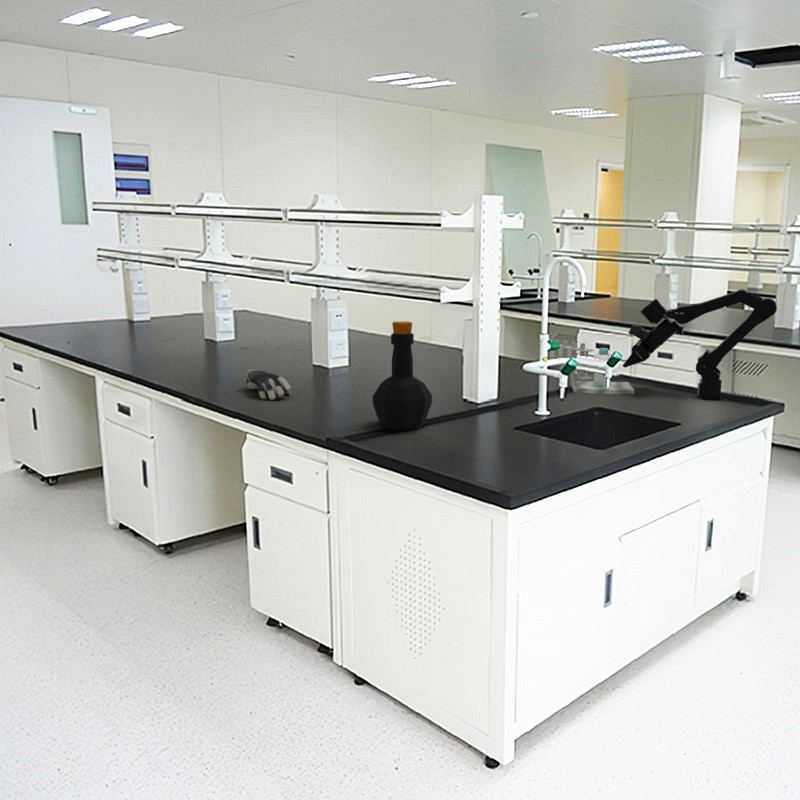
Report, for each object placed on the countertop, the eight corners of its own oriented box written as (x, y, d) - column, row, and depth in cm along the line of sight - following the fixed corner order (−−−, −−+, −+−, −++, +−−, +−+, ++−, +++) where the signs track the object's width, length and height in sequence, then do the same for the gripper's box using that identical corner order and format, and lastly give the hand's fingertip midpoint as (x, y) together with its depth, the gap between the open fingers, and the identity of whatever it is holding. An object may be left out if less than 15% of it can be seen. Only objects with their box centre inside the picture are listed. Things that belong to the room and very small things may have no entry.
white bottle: (613, 385, 287) (615, 348, 284) (606, 387, 282) (608, 350, 280) (597, 383, 291) (599, 346, 288) (590, 385, 286) (591, 348, 283)
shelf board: (628, 386, 293) (629, 368, 291) (634, 394, 279) (635, 375, 278) (571, 385, 295) (571, 367, 294) (574, 392, 281) (575, 374, 280)
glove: (239, 397, 287) (264, 401, 266) (239, 369, 287) (264, 370, 265) (273, 396, 294) (300, 400, 272) (272, 368, 293) (300, 370, 271)
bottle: (398, 416, 248) (397, 317, 241) (441, 424, 237) (442, 321, 231) (362, 426, 236) (361, 322, 229) (407, 435, 225) (407, 327, 219)
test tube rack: (592, 379, 307) (594, 344, 304) (584, 380, 305) (586, 345, 302) (544, 369, 327) (546, 336, 324) (536, 370, 325) (537, 337, 322)
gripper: (647, 313, 285) (613, 343, 291) (640, 319, 268) (604, 351, 275) (669, 337, 283) (635, 366, 290) (664, 344, 267) (627, 375, 273)
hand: (625, 364), depth 282 cm, fingers open, 9 cm apart
